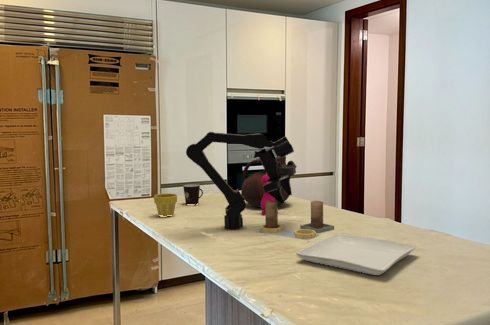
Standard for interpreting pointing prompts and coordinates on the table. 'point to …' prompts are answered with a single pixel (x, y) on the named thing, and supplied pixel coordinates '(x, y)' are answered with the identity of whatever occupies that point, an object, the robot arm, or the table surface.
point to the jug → (257, 184)
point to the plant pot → (165, 203)
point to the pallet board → (290, 232)
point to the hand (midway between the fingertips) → (287, 199)
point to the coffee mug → (192, 193)
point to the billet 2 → (317, 214)
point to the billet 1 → (271, 214)
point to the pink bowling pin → (265, 194)
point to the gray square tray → (308, 226)
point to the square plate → (356, 253)
